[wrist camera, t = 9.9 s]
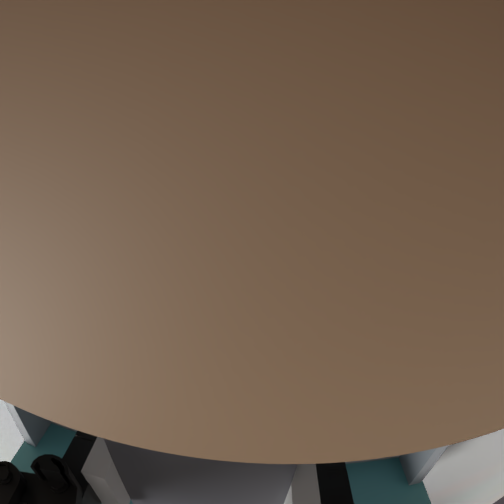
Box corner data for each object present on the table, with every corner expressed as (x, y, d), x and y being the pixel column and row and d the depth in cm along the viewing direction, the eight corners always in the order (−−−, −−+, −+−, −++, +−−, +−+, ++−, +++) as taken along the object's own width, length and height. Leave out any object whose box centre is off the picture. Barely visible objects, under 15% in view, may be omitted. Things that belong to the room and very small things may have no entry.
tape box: (269, 432, 14) (271, 535, 8) (170, 422, 14) (142, 520, 8) (288, 313, 12) (306, 436, 6) (158, 302, 12) (92, 408, 6)
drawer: (382, 482, 17) (399, 544, 12) (66, 452, 17) (38, 506, 12) (499, 152, 11) (596, 165, 5) (-2, 120, 11) (-93, 123, 5)
